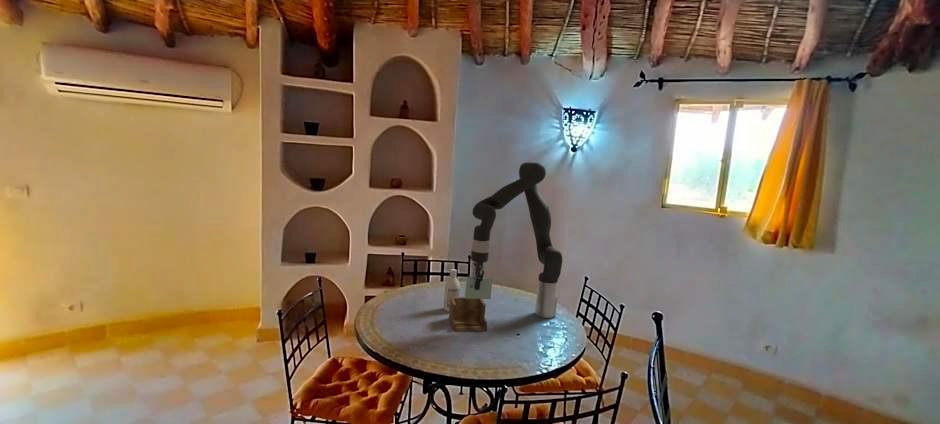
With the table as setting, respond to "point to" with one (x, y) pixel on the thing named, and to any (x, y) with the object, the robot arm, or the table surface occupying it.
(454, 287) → the bath foam
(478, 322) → the cabinet
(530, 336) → the table surface
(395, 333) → the table surface
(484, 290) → the block
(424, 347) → the table surface
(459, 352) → the table surface
